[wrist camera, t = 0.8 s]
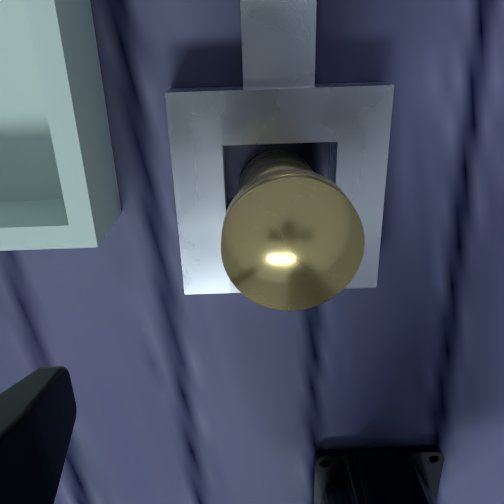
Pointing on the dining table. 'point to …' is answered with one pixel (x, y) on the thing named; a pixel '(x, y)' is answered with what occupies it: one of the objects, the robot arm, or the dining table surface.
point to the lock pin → (290, 234)
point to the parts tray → (53, 129)
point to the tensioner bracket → (275, 135)
